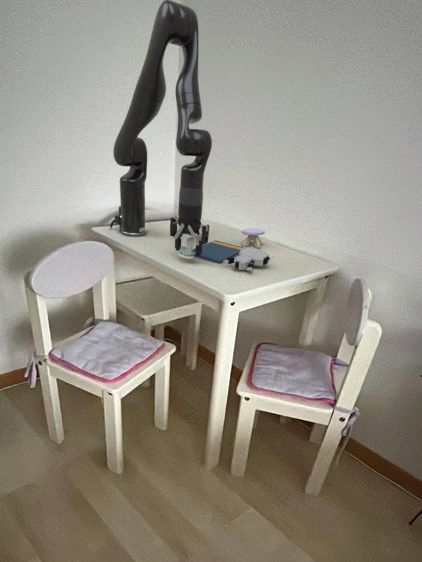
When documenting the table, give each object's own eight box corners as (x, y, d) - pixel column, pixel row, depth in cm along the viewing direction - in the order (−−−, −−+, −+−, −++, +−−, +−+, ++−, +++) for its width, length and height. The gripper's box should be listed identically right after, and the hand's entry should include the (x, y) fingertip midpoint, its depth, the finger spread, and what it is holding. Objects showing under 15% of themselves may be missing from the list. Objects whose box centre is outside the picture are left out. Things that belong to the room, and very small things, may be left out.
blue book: (186, 254, 151) (186, 251, 151) (215, 242, 166) (215, 239, 165) (220, 263, 146) (220, 260, 145) (246, 250, 160) (247, 247, 160)
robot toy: (250, 279, 138) (274, 265, 147) (252, 266, 135) (276, 253, 145) (220, 269, 144) (245, 256, 153) (220, 256, 141) (246, 244, 150)
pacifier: (189, 261, 141) (201, 257, 144) (190, 242, 137) (202, 239, 141) (173, 255, 144) (185, 251, 148) (173, 237, 140) (185, 233, 144)
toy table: (245, 249, 162) (247, 233, 159) (235, 242, 169) (237, 227, 166) (268, 248, 165) (270, 233, 162) (257, 241, 172) (259, 226, 169)
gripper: (216, 204, 134) (211, 255, 143) (179, 195, 140) (176, 245, 149) (203, 208, 129) (199, 261, 138) (165, 198, 134) (164, 250, 144)
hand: (187, 252), depth 143 cm, fingers closed on pacifier, 7 cm apart
